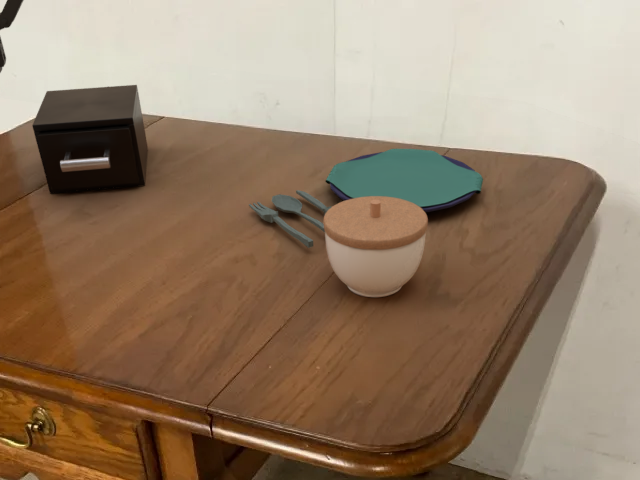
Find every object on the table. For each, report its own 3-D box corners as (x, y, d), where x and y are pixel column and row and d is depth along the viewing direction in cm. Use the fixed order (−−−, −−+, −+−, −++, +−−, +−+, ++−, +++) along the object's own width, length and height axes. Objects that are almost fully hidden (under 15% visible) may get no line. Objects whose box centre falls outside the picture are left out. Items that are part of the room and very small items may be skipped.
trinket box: (441, 274, 85) (447, 193, 79) (393, 319, 78) (395, 234, 72) (358, 251, 90) (358, 173, 84) (306, 291, 83) (302, 209, 77)
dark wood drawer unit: (145, 185, 106) (132, 117, 100) (50, 193, 105) (31, 125, 99) (147, 147, 118) (136, 84, 112) (62, 154, 116) (46, 90, 111)
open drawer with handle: (138, 196, 101) (127, 140, 96) (47, 204, 100) (32, 148, 95) (142, 147, 115) (133, 96, 111) (62, 153, 114) (50, 102, 109)
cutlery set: (510, 199, 100) (512, 182, 99) (312, 262, 88) (312, 244, 86) (417, 153, 113) (418, 138, 112) (235, 202, 101) (233, 185, 100)
